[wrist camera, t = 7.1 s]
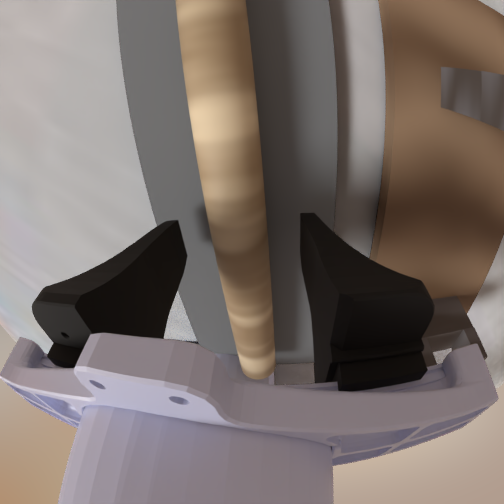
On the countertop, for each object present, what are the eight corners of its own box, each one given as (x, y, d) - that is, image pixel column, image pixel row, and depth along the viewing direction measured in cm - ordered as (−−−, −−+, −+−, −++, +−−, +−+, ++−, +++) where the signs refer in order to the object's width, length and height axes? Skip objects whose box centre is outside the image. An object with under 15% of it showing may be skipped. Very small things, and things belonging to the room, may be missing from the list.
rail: (277, 352, 19) (273, 380, 17) (244, 350, 20) (238, 377, 18) (248, -12, 7) (235, -32, 5) (188, 0, 7) (163, -15, 5)
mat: (315, 356, 21) (316, 362, 20) (207, 357, 22) (206, 363, 21) (318, -40, 6) (320, -44, 5) (121, -8, 7) (115, -11, 6)
